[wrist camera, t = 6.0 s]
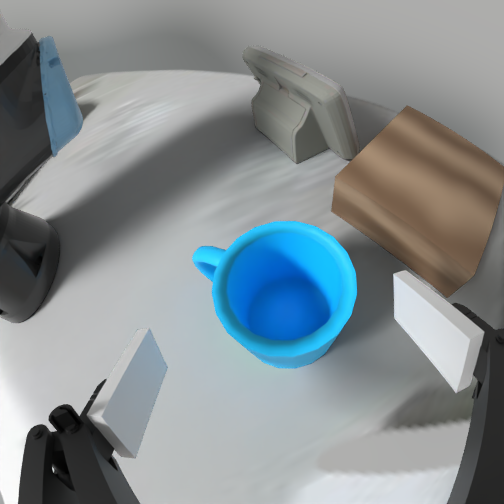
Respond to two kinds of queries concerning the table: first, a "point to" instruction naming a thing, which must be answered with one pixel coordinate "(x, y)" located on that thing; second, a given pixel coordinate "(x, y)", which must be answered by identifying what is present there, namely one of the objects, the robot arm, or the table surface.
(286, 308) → the mug
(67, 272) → the table surface
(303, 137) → the digital clock
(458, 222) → the riser block
